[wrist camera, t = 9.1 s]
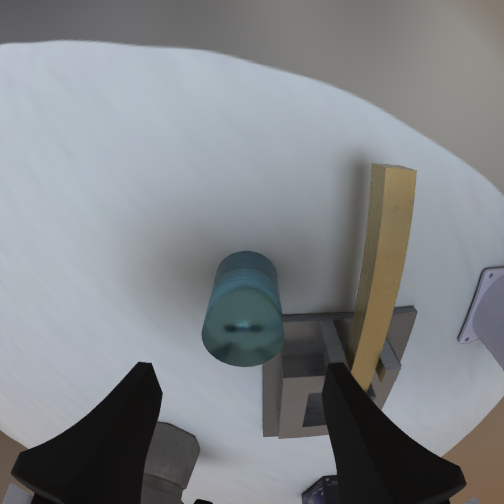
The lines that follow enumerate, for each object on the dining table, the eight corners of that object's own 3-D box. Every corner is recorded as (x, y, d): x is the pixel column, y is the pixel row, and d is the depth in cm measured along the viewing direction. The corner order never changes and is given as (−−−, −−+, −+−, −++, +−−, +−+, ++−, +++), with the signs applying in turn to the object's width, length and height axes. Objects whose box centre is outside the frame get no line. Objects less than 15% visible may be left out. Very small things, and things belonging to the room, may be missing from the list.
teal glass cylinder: (277, 250, 18) (285, 304, 13) (276, 303, 20) (282, 365, 14) (213, 251, 18) (196, 304, 13) (219, 304, 20) (207, 366, 14)
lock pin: (406, 165, 12) (431, 173, 10) (362, 385, 19) (370, 409, 16) (357, 161, 12) (376, 168, 10) (326, 389, 19) (332, 415, 17)
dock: (413, 306, 20) (449, 357, 14) (369, 420, 26) (381, 464, 20) (262, 316, 20) (264, 381, 14) (263, 430, 26) (263, 479, 21)
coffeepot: (114, 435, 29) (80, 542, 13) (113, 402, 26) (65, 538, 9) (222, 466, 31) (214, 576, 15) (244, 440, 28) (240, 580, 11)
